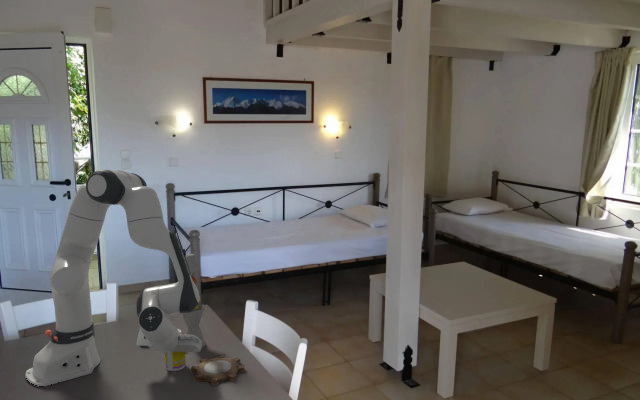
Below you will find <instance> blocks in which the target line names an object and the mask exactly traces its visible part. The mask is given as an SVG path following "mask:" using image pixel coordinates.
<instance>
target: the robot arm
mask: <svg viewBox="0 0 640 400" xmlns="http://www.w3.org/2000/svg"><path fill="white" fill-rule="evenodd" d="M86 179H87V180H86V181H85V183H83V184H81V185H80V187H79V188H78V189H77V191H76V193H75V194H74V195H75V196H73V197H74V198H73V200H72V201H71V205H70V208H69V211H68V214H67V217H66V220H65V223H64V228H63V231H62V233H61V234H62V235H61V237H60V242H59V245H58V247H57V250H56V254H55V258H54V262H53V264H52V268H51V271H50V274H49V281H50V289H51V295H52V300H53V306H54V318H55V328H54V330H53V331H52V330H51V329H47V330H45V332H44V334H45V336H46V337H48V338H50V340H49V342H48V343H46V345H45V346H44V347H42V349H40V351H38V352H37V353H36V354H35V355H34V358H33V360H32V361H33V362H32V367H30V368H29V369H27V370H26V372H25V379H26V378H27V379H26V381H27V380H28V381H29V382H30V383H29V382H28V381H27V382H28V383H29V384H31V383H32V384H34V385H33V386H35V385H37V386H36V387H39V386H44V387H48V386H52V385H54V384H59V383H62V382H66V381H69V380H73V379H76V378H80V377H84V376H87V375H90V374H92V373H93V372H94V369H95V368H96V367H97V366H98V365H99V364H100V362H101V358H100V356H99V353H98V351H97V347H96V342H95V336H96V335H95V326H94V325H95V323H94V322H93V316H92V315H93V313H92V302H91V301H92V300H91V293H90V292H91V291H90V283H89V282H90V280H89V269H90V266H91V263H92V259H93V256H94V253H95V251H96V247H97V245H98V243H99V239H100V236H101V232H102V229H103V225H104V222H105V218H106V214H107V211H108V209H109V208H110V206H112V205H114V206H116V205H117V206H118V205H120V206H121V207H122V208H123V209H124V211H125V217H126V224H127V230H128V234H129V238H130V239H131V241H132V242H133V243H134V244H135V245H137V246H139V247H142V248H143V249H149V250H154V251H159V252H163V253H165V254H166V255H168V256H169V257H170V260H171V262H172V265H173V268H174V271H175V274H176V278H177V282H173V283H168V284H163V285H155V286H150V287H146V288H144V289H143V290H142V291H141V292H140V294H139V295H138V298H137V299H136V314H137V317H138V321H137V323H138V326H139V331H138V334H137V338H136V344H135V345H136V347H137V348H138V349H139V350H140V351H141V352H158V353H160V354H165V352H183V353H184V354H185V355H189V354H190V353H199V352H201V350H202V348H201V346H202V341H201V340H200V339H199V338H198V337H197V336H195V335H185V334H182V333H181V334H179V331H178V330H177V329H178V328H177V327H176V325H175V324H174V323H173V321H172V320H171V317H169V316H172V315H177V314H182V313H190V312H192V311H193V310H194V309H195V308H196V307H197V306H198V304H199V299H201V297H200V291H199V289H198V286H197V284H196V285H195V283H194V280H193V278H192V273H190V270H189V267H188V264H187V261H186V255H185V252H184V250H183V247H182V244H181V242H180V239H179V238H178V236H177V235H176V234H175V232H174V231H173V232H172V231H171V230H170V229H168V227H167V225H166V223H165V219H164V215H163V210H162V206H161V202H160V199H159V197H158V194H157V191H156V190H155V189H154V188H152V187H150V186H148V184H147V182H146V180H145V179H144V178H143V177H142V176H140V175H138V174H136V173H135V172H134V173H133V172H128V171H123V170H110V169H100V170H95V171H94V172H92V173H91V174H90V175H89V176H88V177H87V178H86ZM58 382H59V383H58ZM32 384H31V385H32ZM51 384H52V385H51Z"/></svg>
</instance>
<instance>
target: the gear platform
mask: <svg viewBox="0 0 640 400" xmlns="http://www.w3.org/2000/svg"><path fill="white" fill-rule="evenodd" d="M240 364H241V358H239V357H238V356H236V357H234V358H230V357H225V354H218V357H212V358H209V359H208V358H206V357H203V358H201V359H200V360H199V364H198V365H195V366H193V365H192V366H191V368H190V374H195V375H193V381H195V382H197V383H199V382H202V381H204V382H207V383H210V386H218V384H219V383H220V382H226V381H230V382H231V383H233V382H235V381H237V379H238V374H239V373H245V370H244V369H246V368H245V364H244V365H242V364H241V365H240Z"/></svg>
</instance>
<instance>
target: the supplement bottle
mask: <svg viewBox="0 0 640 400" xmlns="http://www.w3.org/2000/svg"><path fill="white" fill-rule="evenodd" d="M177 330H178V331H179V334H182V330H181V329H180V328H177ZM164 361H165V362H164V363H165V365H164V366H165V369H166V370H168V371H170V372H177V371H181V370H182V369H185V367H186V365H187V364H186V363H187V362H186V354H184V353H183V352H165V353H164Z"/></svg>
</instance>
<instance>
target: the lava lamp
mask: <svg viewBox="0 0 640 400" xmlns="http://www.w3.org/2000/svg"><path fill="white" fill-rule="evenodd" d="M185 258H186V261H187V264H188V267H189V270H190V273H191V274H193V273H197V272H198V271H199V268H198V264H197V259H196V255H195V254H194V253H188V254H186V255H185ZM192 278H193V280H194V283H195V285H196V286H197V278H196V277H195V276H192ZM201 300H202V299H201V298H200V299H199V304H198V306H197V307H196V308H195V309H194V310H193V311H192V312H190V313H181V315H182V318H183V320H184V322H185V324H186V329H185V333H184V335H195V336H197V337H198V338H199V339H200V340H201V341H202V346H201V349H202V348H204V347H205V345H206V341H205V338H204V336H203V333H202V331H201V327H200V323H201V320H202V317H203V313H204V310H205V306H206V305H205V304H204V303H202V302H201Z"/></svg>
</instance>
